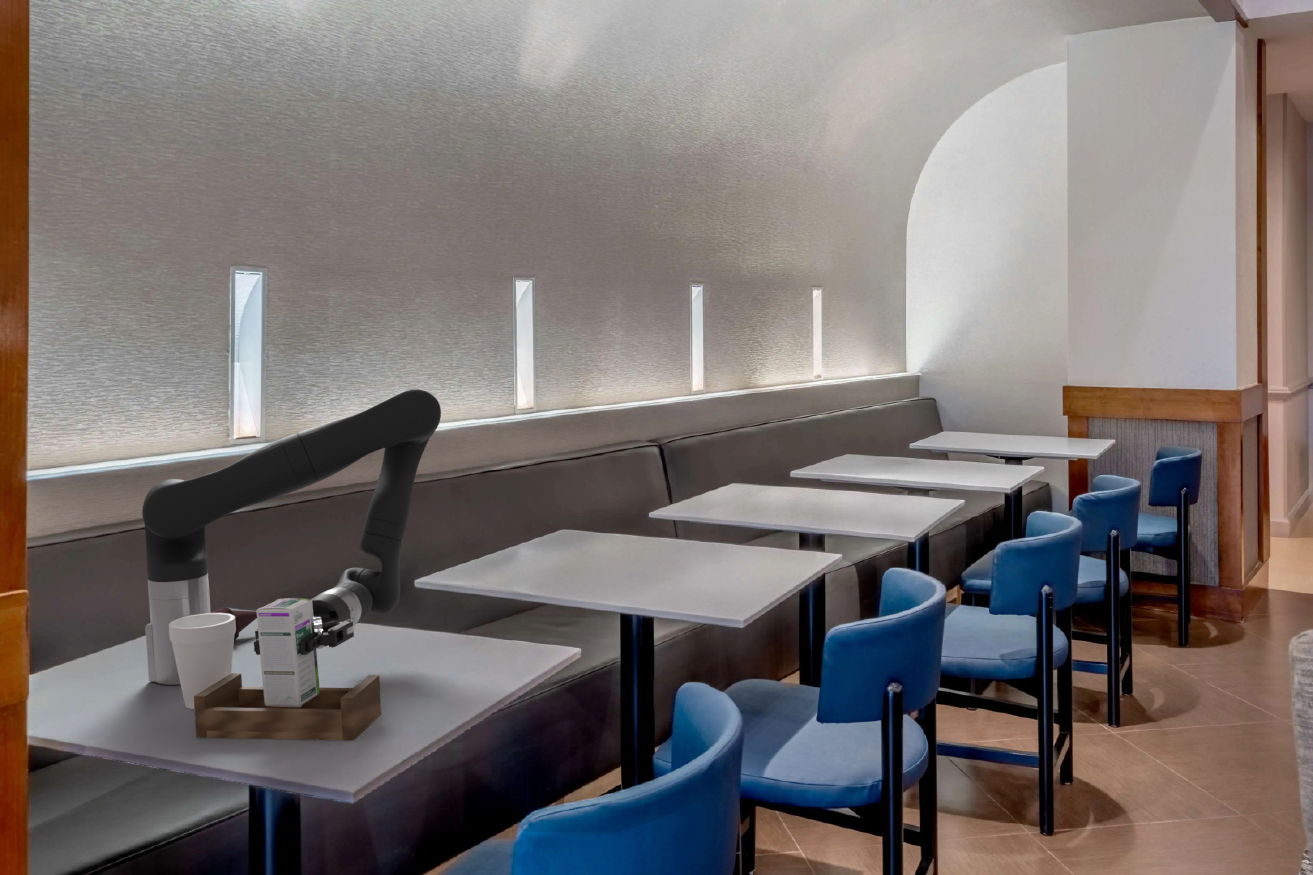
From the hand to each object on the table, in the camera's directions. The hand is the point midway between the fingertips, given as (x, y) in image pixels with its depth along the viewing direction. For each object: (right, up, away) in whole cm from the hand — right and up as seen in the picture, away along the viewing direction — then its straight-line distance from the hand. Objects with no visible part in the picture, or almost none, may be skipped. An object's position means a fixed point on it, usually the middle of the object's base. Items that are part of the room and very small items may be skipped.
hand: (280, 647), depth 151 cm
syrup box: (+1, -8, +3) cm, 9 cm away
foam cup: (-17, -12, +15) cm, 25 cm away
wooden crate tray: (0, -12, +3) cm, 12 cm away
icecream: (-28, -9, +50) cm, 57 cm away
